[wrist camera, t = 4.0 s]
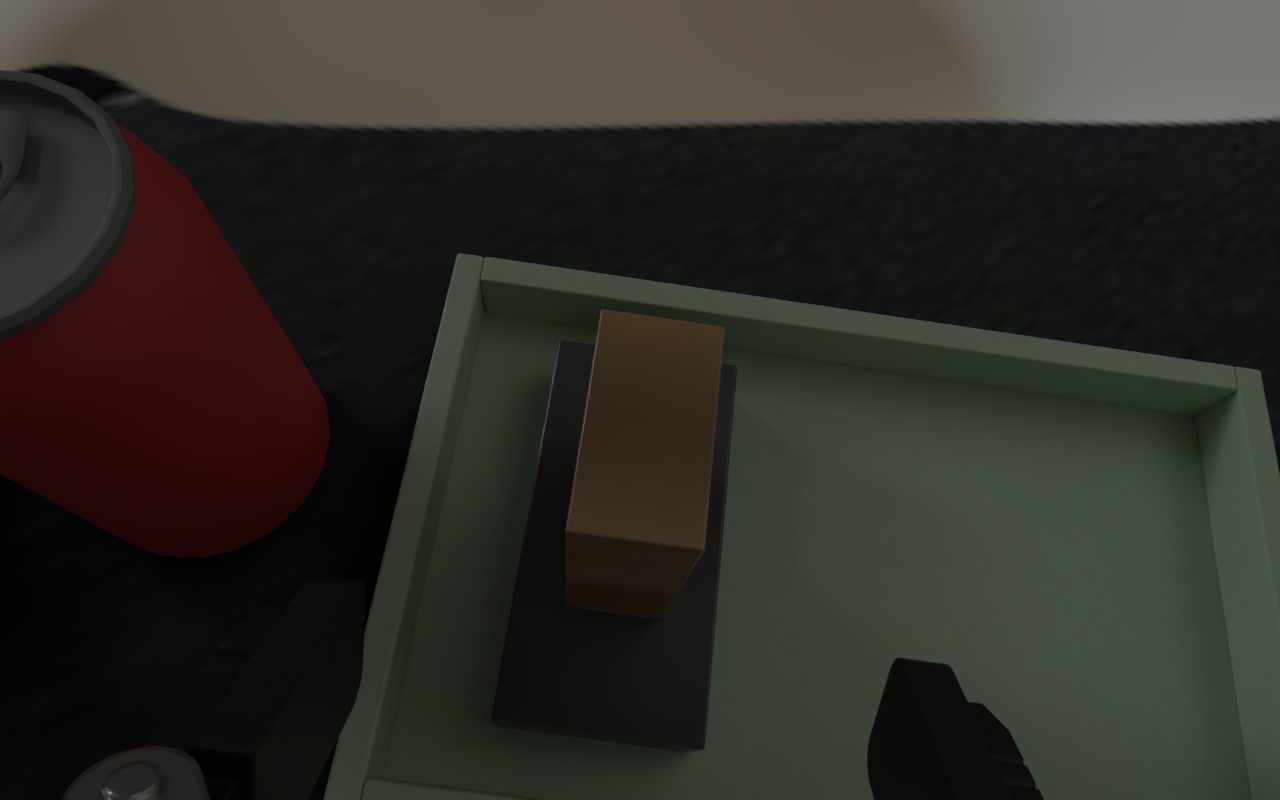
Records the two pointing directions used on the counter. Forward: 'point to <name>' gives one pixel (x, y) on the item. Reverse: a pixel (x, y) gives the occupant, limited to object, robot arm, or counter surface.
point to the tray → (854, 556)
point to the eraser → (623, 539)
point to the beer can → (138, 342)
